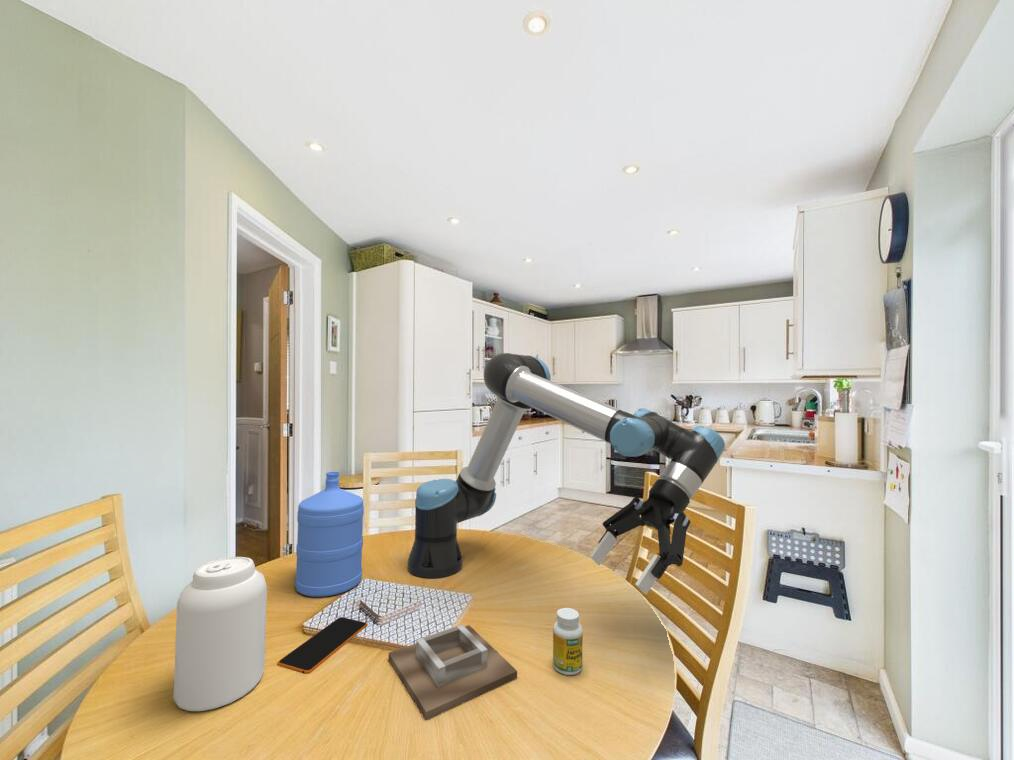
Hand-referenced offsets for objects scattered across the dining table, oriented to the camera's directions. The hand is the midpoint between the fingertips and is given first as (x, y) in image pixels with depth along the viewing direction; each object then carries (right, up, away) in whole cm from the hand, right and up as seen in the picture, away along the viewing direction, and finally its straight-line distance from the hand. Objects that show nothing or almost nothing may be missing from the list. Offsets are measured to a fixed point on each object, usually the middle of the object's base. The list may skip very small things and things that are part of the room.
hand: (615, 574), depth 81 cm
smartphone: (-56, -14, +1) cm, 58 cm away
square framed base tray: (-31, -14, -6) cm, 35 cm away
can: (-69, -14, -11) cm, 71 cm away
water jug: (-66, -14, +26) cm, 73 cm away
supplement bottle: (-10, -15, -5) cm, 18 cm away
